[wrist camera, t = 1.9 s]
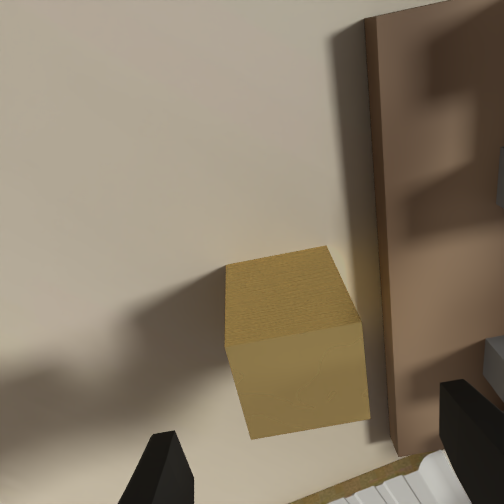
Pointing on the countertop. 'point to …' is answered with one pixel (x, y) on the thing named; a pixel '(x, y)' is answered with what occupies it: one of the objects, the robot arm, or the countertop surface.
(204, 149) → the countertop surface
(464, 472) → the robot arm
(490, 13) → the shaft base
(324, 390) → the block
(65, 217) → the countertop surface
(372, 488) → the baseboard molding
